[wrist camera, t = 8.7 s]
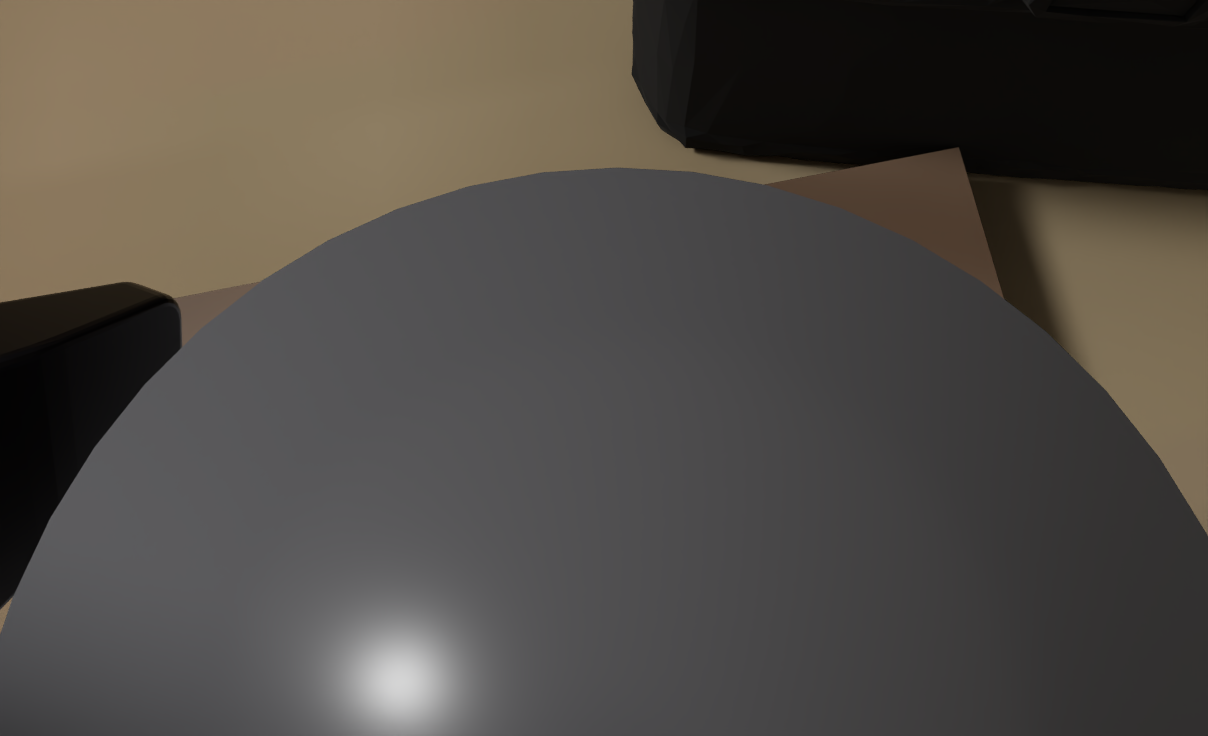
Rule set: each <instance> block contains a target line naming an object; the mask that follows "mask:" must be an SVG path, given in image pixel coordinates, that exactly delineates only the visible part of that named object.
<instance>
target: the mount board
mask: <svg viewBox="0 0 1208 736" xmlns="http://www.w3.org/2000/svg"><path fill="white" fill-rule="evenodd" d="M765 185H768V186H771V187H774V188H777V189H781V190H784V191H787V192H790V193H794V194H797V195H800V196H803V197H806V198H810V199H813V200H816V201H819V202H823V203H826V204H829V205H832V206H836V207H839V208H842V209H844V210H846V211H848V212H851V213H853V214H855V215H857V216H860V217H862V218H864V219H866V220H869V221H871V222H873V223H875V224H878V225H880V226H882V227H884V228H887V229H889V230H891V231H893V232H896V233H898V234H900V235H902V236H904V237H907V238H909V239H911V240H913V241H915V242H917V243H918V244H920V245H922V246H923V247H925V248H927V249H928V250H930V251H932V252H933V253H935V254H937V255H938V256H940V257H942V258H943V259H945V260H947V261H948V262H950V263H952V264H953V265H955V266H957V267H958V268H960V269H962V270H963V271H965V272H967V273H968V274H970V275H972V276H973V277H975V278H977V279H978V280H980V281H981V282H983V283H984V284H985V285H987V286H988V287H989V288H991V289H992V290H993V291H994V292H996V293H997V294H998V295H1000V296H1001V297H1002V298H1003V299H1004V297H1003V294H1002V290H1001V287H1000V284H999V280H998V277H997V274H996V270H995V267H994V263H993V260H992V257H991V253H990V250H989V247H988V243H987V240H986V237H985V233H984V230H983V227H982V223H981V220H980V217H979V213H978V210H977V207H976V203H975V200H974V196H973V193H972V190H971V186H970V183H969V180H968V176H967V173H966V170H965V166H964V163H963V160H962V156H961V153H960V150H959V147H957V148H952V149H947V150H942V151H937V152H931V153H926V154H921V155H916V156H911V157H905V158H900V159H895V160H890V161H885V162H879V163H874V164H869V165H864V166H859V167H854V168H848V169H843V170H838V171H833V172H828V173H822V174H817V175H812V176H807V177H802V178H796V179H791V180H786V181H781V182H776V183H770V184H765ZM259 283H260V282H257V283H251V284H246V285H241V286H236V287H231V288H225V289H220V290H215V291H210V292H205V293H199V294H194V295H189V296H184V297H179V298H173V299H174V300H176V302H177V303H178V305H179V308H180V310H181V318H182V347H183V346H184V345H185V344H186V343H187V342H188V341H189V340H190V339H191V338H192V337H193V336H194V335H195V334H196V333H197V332H198V331H199V330H200V329H201V328H202V327H204V326H205V325H206V324H207V323H209V322H210V321H211V320H213V319H214V318H215V317H216V316H218V315H219V314H220V313H221V312H223V311H224V310H225V309H227V308H228V307H229V306H230V305H232V304H233V303H234V302H236V301H237V300H238V299H239V298H241V297H242V296H243V295H244V294H246V293H247V292H248V291H250V290H251V289H252V288H253V287H255V286H256V285H257V284H259Z"/></svg>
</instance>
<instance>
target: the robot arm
mask: <svg viewBox="0 0 1208 736" xmlns="http://www.w3.org/2000/svg"><path fill="white" fill-rule="evenodd" d="M181 348H182V318H181V310H180V308H179V305H178V303H177V302H176V300H174V299H173V298H172V297H171V296H169V295H167V294H164V293H161V292H159V291H156V290H153V289H150V288H148V287H145V286H142V285H139V284H136V283H132V282H121V283H115V284H109V285H103V286H97V287H91V288H85V289H79V290H73V291H67V292H61V293H55V294H49V295H43V296H37V297H31V298H25V299H19V300H13V301H7V302H1V303H0V609H1V608H2V607H3V606H4V605H5V604H6V603H7V602H8V601H9V600H10V599H11V598H12V597H13V596H14V594H15V592H16V589H17V587H18V585H19V583H20V581H21V579H22V577H23V575H24V573H25V570H26V568H27V566H28V564H29V562H30V560H31V558H32V556H33V554H34V551H35V549H36V547H37V545H38V543H39V541H40V539H41V537H42V535H43V532H44V530H45V528H46V526H47V524H48V522H49V520H50V518H51V516H52V515H53V513H54V511H55V510H56V508H57V507H58V505H59V503H60V502H61V500H62V499H63V497H64V495H65V494H66V492H67V491H68V489H69V487H70V486H71V484H72V483H73V481H74V479H75V478H76V476H77V475H78V473H79V471H80V470H81V468H82V467H83V465H84V463H85V462H86V460H87V458H88V457H89V455H90V454H91V452H92V450H93V449H94V447H95V446H96V445H97V444H98V442H99V441H100V440H101V439H102V437H103V436H104V435H105V434H106V432H107V431H108V430H109V429H110V427H111V426H112V425H113V424H114V422H115V421H116V420H117V419H118V417H119V416H120V415H121V414H122V412H123V411H124V410H125V409H126V407H127V406H128V405H129V403H130V402H131V401H132V400H133V398H134V397H135V396H136V395H137V393H138V392H139V391H140V390H141V388H142V387H143V386H144V385H145V384H146V383H147V382H148V381H149V380H150V379H151V378H152V377H153V376H154V375H155V374H156V373H157V372H158V371H159V370H160V369H161V368H162V367H163V366H164V365H165V364H166V363H167V362H168V361H169V360H170V359H171V358H172V357H173V356H174V355H175V354H176V353H177V352H178V351H179V350H180V349H181Z"/></svg>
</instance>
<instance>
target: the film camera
mask: <svg viewBox="0 0 1208 736" xmlns="http://www.w3.org/2000/svg"><path fill="white" fill-rule="evenodd" d="M632 34H633V66H632V76H633V78H634V80H635V82H636V84H637V87H638V89H639V91H640V93H641V95H642V97H643V99H644V101H645V103H646V105H647V107H648V108H649V110H650V112H651V113H652V115H653V117H654V119H655V120H656V122H657V124H658V125H659V127H660V128H661V129H662V130H663V131H664V132H666V133H667V134H669V135H671V136H672V137H674V138H675V139H677V140H679V141H680V142H681V143H682V144H683V146H684V147H685V148H699V149H712V150H721V151H726V152H731V153H736V154H741V155H779V156H785V157H790V158H795V159H803V160H813V161H823V162H833V163H848V164H874V163H879V162H885V161H890V160H895V159H900V158H905V157H911V156H916V155H921V154H926V153H931V152H937V151H942V150H947V149H952V148H957V147H959V150H960V153H961V156H962V160H963V163H964V166H965V170H966V172H971V173H980V174H988V175H998V176H1010V177H1021V178H1041V179H1060V180H1071V181H1081V182H1095V183H1110V184H1124V185H1138V186H1160V187H1169V188H1178V189H1200V190H1208V0H633V30H632Z"/></svg>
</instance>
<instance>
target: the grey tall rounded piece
mask: <svg viewBox="0 0 1208 736" xmlns="http://www.w3.org/2000/svg"><path fill="white" fill-rule="evenodd" d="M0 736H1208V536H1207V534H1206V532H1205V530H1204V529H1203V527H1202V526H1201V524H1200V522H1199V521H1198V519H1197V518H1196V516H1195V514H1194V513H1193V511H1192V509H1191V508H1190V506H1189V505H1188V503H1187V501H1186V500H1185V498H1184V497H1183V495H1182V493H1181V492H1180V490H1179V489H1178V487H1177V485H1176V484H1175V482H1174V480H1173V479H1172V477H1171V476H1170V474H1169V472H1168V471H1167V469H1166V468H1165V466H1164V464H1163V463H1162V461H1161V459H1160V458H1159V457H1158V455H1157V454H1156V453H1155V452H1154V450H1153V449H1152V448H1151V447H1150V445H1149V444H1148V443H1147V442H1146V440H1145V439H1144V438H1143V437H1142V435H1141V434H1140V433H1139V432H1138V430H1137V429H1136V428H1135V427H1134V425H1133V424H1132V423H1131V422H1130V420H1129V419H1128V418H1127V417H1126V415H1125V414H1124V413H1123V412H1122V410H1121V409H1120V408H1119V407H1118V405H1117V404H1116V403H1115V401H1114V400H1113V399H1112V398H1111V396H1110V395H1109V394H1108V393H1107V391H1106V390H1105V389H1104V388H1103V387H1102V386H1101V385H1100V384H1099V383H1098V382H1097V381H1096V380H1095V379H1094V378H1093V377H1092V376H1091V375H1090V374H1089V373H1088V372H1086V371H1085V370H1084V369H1083V368H1082V367H1081V366H1080V365H1079V364H1078V363H1077V362H1076V361H1075V360H1074V359H1073V358H1072V357H1071V356H1070V355H1069V354H1068V353H1067V352H1066V351H1065V350H1064V349H1063V348H1062V347H1061V346H1060V345H1059V344H1058V343H1057V342H1056V341H1055V340H1054V339H1053V338H1052V337H1051V336H1050V335H1049V334H1048V333H1047V332H1046V331H1045V330H1043V329H1042V328H1041V327H1040V326H1038V325H1037V324H1036V323H1034V322H1033V321H1032V320H1030V319H1029V318H1028V317H1027V316H1025V315H1024V314H1023V313H1021V312H1020V311H1019V310H1018V309H1016V308H1015V307H1014V306H1012V305H1011V304H1010V303H1009V302H1007V301H1006V300H1005V299H1003V298H1002V297H1001V296H1000V295H998V294H997V293H996V292H994V291H993V290H992V289H991V288H989V287H988V286H987V285H985V284H984V283H983V282H981V281H980V280H978V279H977V278H975V277H973V276H972V275H970V274H968V273H967V272H965V271H963V270H962V269H960V268H958V267H957V266H955V265H953V264H952V263H950V262H948V261H947V260H945V259H943V258H942V257H940V256H938V255H937V254H935V253H933V252H932V251H930V250H928V249H927V248H925V247H923V246H922V245H920V244H918V243H917V242H915V241H913V240H911V239H909V238H907V237H904V236H902V235H900V234H898V233H896V232H893V231H891V230H889V229H887V228H884V227H882V226H880V225H878V224H875V223H873V222H871V221H869V220H866V219H864V218H862V217H860V216H857V215H855V214H853V213H851V212H848V211H846V210H844V209H842V208H839V207H836V206H832V205H829V204H826V203H823V202H819V201H816V200H813V199H810V198H806V197H803V196H800V195H797V194H794V193H790V192H787V191H784V190H781V189H777V188H774V187H771V186H768V185H762V184H757V183H751V182H746V181H740V180H734V179H729V178H723V177H718V176H712V175H707V174H701V173H696V172H684V171H667V170H649V169H632V168H605V169H589V170H574V171H558V172H543V173H537V174H532V175H527V176H521V177H516V178H511V179H505V180H500V181H495V182H490V183H484V184H479V185H474V186H469V187H465V188H462V189H459V190H456V191H453V192H450V193H446V194H443V195H440V196H437V197H434V198H431V199H427V200H424V201H421V202H418V203H415V204H412V205H409V206H405V207H402V208H399V209H396V210H394V211H392V212H390V213H388V214H385V215H383V216H381V217H379V218H377V219H374V220H372V221H370V222H368V223H366V224H363V225H361V226H359V227H357V228H355V229H352V230H350V231H348V232H346V233H344V234H341V235H339V236H337V237H335V238H333V239H330V240H328V241H327V242H325V243H323V244H322V245H320V246H318V247H317V248H315V249H313V250H312V251H310V252H308V253H307V254H305V255H303V256H302V257H300V258H299V259H297V260H295V261H294V262H292V263H290V264H289V265H287V266H285V267H284V268H282V269H280V270H279V271H277V272H275V273H274V274H272V275H271V276H269V277H267V278H266V279H264V280H262V281H261V282H260V283H259V284H257V285H256V286H255V287H253V288H252V289H251V290H250V291H248V292H247V293H246V294H244V295H243V296H242V297H241V298H239V299H238V300H237V301H236V302H234V303H233V304H232V305H230V306H229V307H228V308H227V309H225V310H224V311H223V312H221V313H220V314H219V315H218V316H216V317H215V318H214V319H213V320H211V321H210V322H209V323H207V324H206V325H205V326H204V327H202V328H201V329H200V330H199V331H198V332H197V333H196V334H195V335H194V336H193V337H192V338H191V339H190V340H189V341H188V342H187V343H186V344H185V345H184V346H183V347H182V348H181V349H180V350H179V351H178V352H177V353H176V354H175V355H174V356H173V357H172V358H171V359H170V360H169V361H168V362H167V363H166V364H165V365H164V366H163V367H162V368H161V369H160V370H159V371H158V372H157V373H156V374H155V375H154V376H153V377H152V378H151V379H150V380H149V381H148V382H147V383H146V384H145V385H144V386H143V387H142V388H141V390H140V391H139V392H138V393H137V395H136V396H135V397H134V398H133V400H132V401H131V402H130V403H129V405H128V406H127V407H126V409H125V410H124V411H123V412H122V414H121V415H120V416H119V417H118V419H117V420H116V421H115V422H114V424H113V425H112V426H111V427H110V429H109V430H108V431H107V432H106V434H105V435H104V436H103V437H102V439H101V440H100V441H99V442H98V444H97V445H96V446H95V447H94V449H93V450H92V452H91V454H90V455H89V457H88V458H87V460H86V462H85V463H84V465H83V467H82V468H81V470H80V471H79V473H78V475H77V476H76V478H75V479H74V481H73V483H72V484H71V486H70V487H69V489H68V491H67V492H66V494H65V495H64V497H63V499H62V500H61V502H60V503H59V505H58V507H57V508H56V510H55V511H54V513H53V515H52V516H51V518H50V520H49V522H48V524H47V526H46V528H45V530H44V532H43V535H42V537H41V539H40V541H39V543H38V545H37V547H36V549H35V551H34V554H33V556H32V558H31V560H30V562H29V564H28V566H27V568H26V570H25V573H24V575H23V577H22V579H21V581H20V583H19V585H18V587H17V589H16V592H15V594H14V596H13V599H12V602H11V605H10V608H9V611H8V614H7V617H6V619H5V622H4V625H3V628H2V631H1V634H0Z"/></svg>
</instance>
